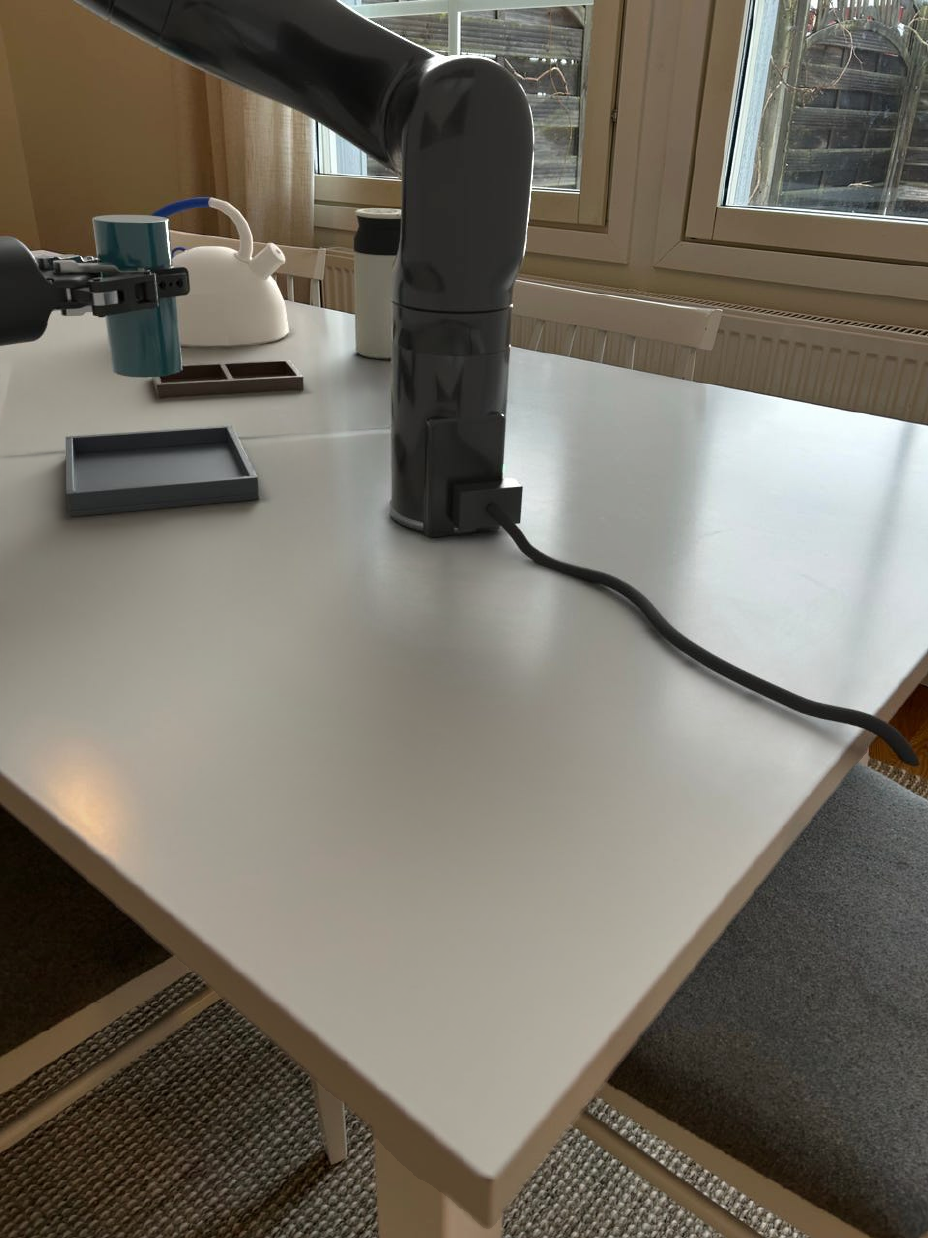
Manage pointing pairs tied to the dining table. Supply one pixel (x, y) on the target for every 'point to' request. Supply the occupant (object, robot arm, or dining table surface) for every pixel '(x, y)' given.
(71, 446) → the tray
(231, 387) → the tray
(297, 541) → the dining table surface
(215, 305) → the kettle
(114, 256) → the teal cylinder
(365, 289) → the travel mug
